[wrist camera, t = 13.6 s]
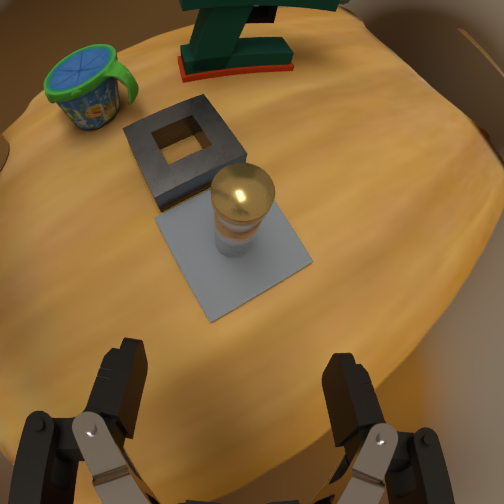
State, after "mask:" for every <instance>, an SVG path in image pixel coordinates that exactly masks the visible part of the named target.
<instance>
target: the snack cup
mask: <svg viewBox="0 0 504 504" xmlns="http://www.w3.org/2000/svg"><path fill="white" fill-rule="evenodd" d="M117 59H118V58H117V53H116V50H115V49H114V47H112V46H110V45H107V44H96V45H91V46H87V47H85V48H82V49H80V50H77V51H75V52H73V53H72V54H70V55H68V56H67V57H65V58H64V59H63V60H61V61H60V62H59V63H58V64H57V65H56V66H55V67H54V68H53V69H52V70H51V71H50V73H49V74H48V76H47V77H46V79H45V80H44V90H45V95H46V96H47V98H48V100H49V102H50V103H55V102H56V103H57V104H58V106H59V107H60V108H61V109H62V110H63V111H64V112H65V113H66V115H67V116H68V117H69V118H70V119H71V120H72V121H73V122H74V124H76V126H78V127H79V128H82V129H84V130H87V129H92V128H100V127H101V126H102V125H103V124H105V123H106V122H108V121H109V120H110V119H111V118H112V117H113V116H114V115H115V114H117V112H118V108H119V103H120V99H119V90H118V81H117V80H119V81H120V82H121V83H122V84H123V85H124V86H126V87H127V89H128V98H129V105H131V104H132V103H133V102H134V100H135V98H136V97H137V94H138V84H137V82H136V81H135V79H134V77H133V76H132V74H131V73H130V71H129V70H128V69H127V68H126V67H125V66H124V65H123V64H121V63H120V62H118V61H117Z"/></svg>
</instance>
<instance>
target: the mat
mask: <svg viewBox="0 0 504 504" xmlns="http://www.w3.org/2000/svg"><path fill="white" fill-rule="evenodd" d="M155 220H156V222H157V224H158V226H159V228H160V230H161V232H162V234H163V236H164V238H165V240H166V242H167V244H168V246H169V248H170V250H171V252H172V254H173V256H174V258H175V260H176V262H177V264H178V265H179V267H180V269H181V271H182V273H183V275H184V277H185V278H186V280H187V282H188V284H189V286H190V288H191V289H192V291H193V293H194V295H195V297H196V298H197V300H198V302H199V304H200V305H201V307H202V309H203V311H204V312H205V314H206V316H207V317H208V319H209V321H210V323H211V322H212V321H214V320H216V319H218V318H220V317H221V316H223V315H225V314H226V313H228V312H230V311H232V310H233V309H235V308H237V307H239V306H240V305H242V304H244V303H245V302H247V301H249V300H251V299H252V298H254V297H256V296H257V295H259V294H261V293H262V292H264V291H266V290H267V289H269V288H271V287H272V286H274V285H276V284H277V283H279V282H281V281H282V280H284V279H286V278H287V277H289V276H291V275H292V274H294V273H295V272H297V271H299V270H300V269H302V268H303V267H305V266H307V265H308V264H310V263H311V262H313V260H312V258H311V257H310V255H309V253H308V252H307V250H306V249H305V247H304V245H303V244H302V242H301V241H300V239H299V237H298V236H297V234H296V233H295V231H294V230H293V228H292V226H291V225H290V223H289V222H288V220H287V219H286V217H285V216H284V214H283V213H282V211H281V209H280V208H279V206H278V205H277V203H276V202H275V200H274V202H273V204H272V206H271V208H270V210H269V212H268V214H267V215H266V216H265V217H264V218H263V219H262V222H261V224H260V226H259V228H258V231H257V233H256V235H255V238H254V240H253V242H252V244H251V247H250V249H249V250H248V252H247V253H246V254H244V255H243V256H241V257H238V258H229V257H226V256H224V255H222V254H221V253H220V252H219V251H218V249H217V248H216V245H215V235H214V209H213V206H212V203H211V189H210V190H207V191H205V192H203V193H201V194H199V195H197V196H195V197H193V198H191V199H189V200H187V201H185V202H184V203H182V204H180V205H178V206H176V207H174V208H172V209H170V210H168V211H166V212H164V213H163V214H161V215H159V216H157V217H155Z"/></svg>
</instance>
